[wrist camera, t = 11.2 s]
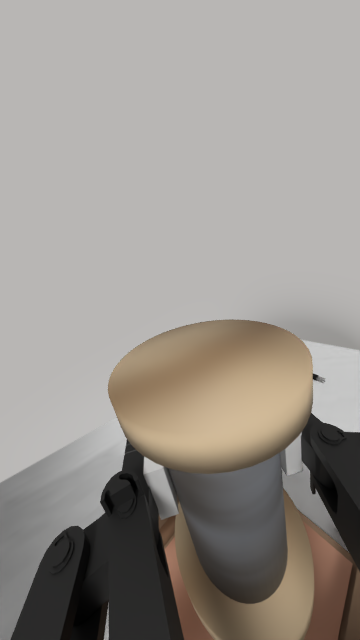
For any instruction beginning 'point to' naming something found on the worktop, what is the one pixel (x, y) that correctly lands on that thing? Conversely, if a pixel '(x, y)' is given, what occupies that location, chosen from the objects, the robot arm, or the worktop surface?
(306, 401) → the cord spool
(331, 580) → the slot cradle
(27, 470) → the worktop surface
